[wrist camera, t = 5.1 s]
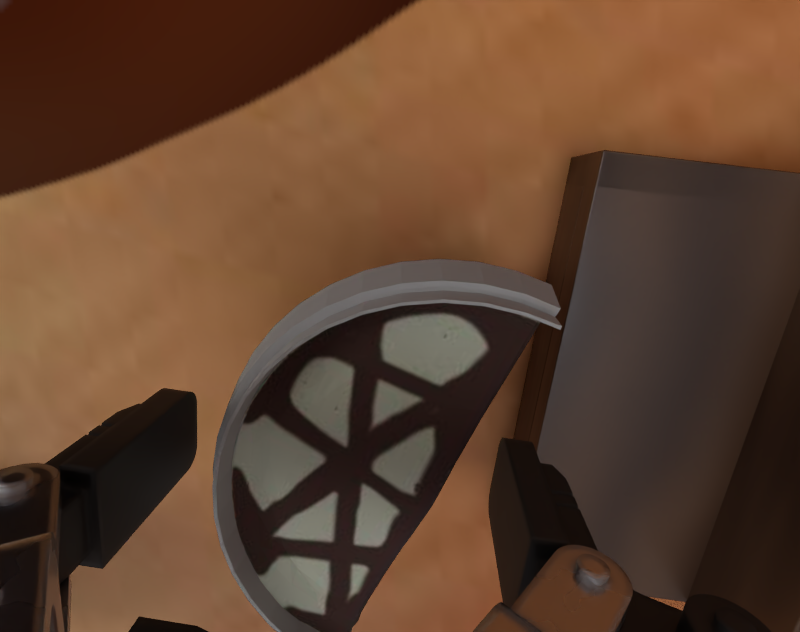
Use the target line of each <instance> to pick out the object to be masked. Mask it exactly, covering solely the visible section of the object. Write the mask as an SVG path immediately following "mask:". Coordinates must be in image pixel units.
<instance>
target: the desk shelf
mask: <svg viewBox="0 0 800 632" xmlns="http://www.w3.org/2000/svg"><path fill="white" fill-rule="evenodd" d="M546 283H548V284H551V285H552V287H553V290H554V292H555V295H556V297H557V300H558V303H559V305H560V308H561V309H560V310H559V312H558V314H557V315H556V316H555V317H556V319H557V320H558V321H559V323H560V324H561V325H562V328H561V330H559V329H557V328H554V327H552V326H549V325H547V324H544V323H542V322H540V324H539V326H538V327H537V329H536V332H535V337H534V342H533V347H532V352H531V357H530V361H529V366H528V371H527V376H526V381H525V386H524V391H523V395H522V400H521V405H520V410H519V415H518V420H517V424H516V429H515V434H514V439H516V440H523V441H530V442H532V443H533V445H534V447H535V450H536V452H537V455H538V458H539V460H540V463H544V464H551V465H553V466H554V467H555V468H556V469H557V470H558V471H559V472H560V473H561V474H562V475H563V476H564V477H565V478H566V479H567V482H568V484H569V486H570V488H571V491H572V493H573V497H575V500H576V502H577V504H578V509H580V511H581V513H582V516H583V518H584V520H585V522H586V525H587V527H588V529H589V531H590V534H591V536H592V538H593V540H594V543H595V545H596V547H597V549H598V551H599V552H601V553H603V554H605V555H606V556H608V557H609V558H611V559H612V560H613V561H615V562H616V563H617V564H618V565H619V566H620V567H621V568H622V569H623V570H624V571H625V573H626V574H627V576H628V577H629V579H630V581H631V584H632V588H633V590H635V591H637V592H638V593H640V594H642V595H644V596H647V597H654V598H661V599H668V600H675V601H682V602H686V601H687V599H688V598H689V597H691V596H693V595H697V594H709V595H714V596H718V597H721V598H724V599H726V600H729V601H731V602H733V603H735V604H737V605H739V606H740V607H742V608H744V609H745V610H747V611H748V612H750V613H751V614H753V615H754V616H755V617H756V618H758V619H759V620H760V621H761V622H762V623H763V624H765V625H766V626H767V627H768V629H769V630H770V631H771V632H800V173H795V172H786V171H777V170H769V169H760V168H752V167H743V166H735V165H726V164H718V163H709V162H701V161H692V160H684V159H675V158H667V157H658V156H650V155H641V154H633V153H624V152H616V151H607V150H603V151H598V152H594V153H590V154H585V155H580V156H575V157H572V158H571V163H570V168H569V173H568V177H567V182H566V187H565V192H564V197H563V202H562V206H561V211H560V216H559V221H558V226H557V231H556V236H555V240H554V245H553V250H552V255H551V260H550V265H549V269H548V274H547V279H546Z"/></svg>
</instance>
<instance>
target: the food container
mask: <svg viewBox="0 0 800 632" xmlns="http://www.w3.org/2000/svg"><path fill="white" fill-rule="evenodd" d="M560 309H561V308H560V305H559V303H558V300H557V297H556V295H555V292H554V290H553V287H552V285H551V284H548V283H546V282H543V281H541V280H538V279H536V278H534V277H531V276H529V275H526V274H524V273H521V272H519V271H515V270H511V269H507V268H503V267H499V266H494V265H490V264H486V263H482V262H474V261H461V260H449V259H431V260H418V261H405V262H398V263H394V264H390V265H386V266H381V267H377V268H373V269H369V270H364V271H362V272H360V273H357V274H355V275H352V276H350V277H347V278H345V279H343V280H340V281H338V282H335V283H333V284H330V285H329V286H327V287H325V288H324V289H322V290H321V291H319V292H317V293H316V294H314V295H313V296H311V297H309V298H308V299H306V300H305V301H303V302H301V303H300V304H298V305H297V306H296V307H295V308H294V309H293V310H292V311H291V312H289V313H288V314H287V315H286V316H285V317H284V318H283V319H282V320H280V321H279V322H278V323H277V324H276V325H275V326H274V327H273V328H272V329H271V330H270V332H269V333H268V334H267V336H266V337H265V338H264V339H263V341H262V342H261V343H260V344H259V346H258V347H257V348H256V349H255V351H254V352H253V354H252V355H251V357H250V359H249V361H248V363H247V365H246V366H245V368H244V370H243V372H242V374H241V376H240V378H239V379H238V382H237V384H236V387H235V389H234V392H233V394H232V396H231V399H230V401H229V404H228V406H227V409H226V412H225V415H224V418H223V421H222V424H221V427H220V430H219V433H218V436H217V442H216V450H215V457H214V464H213V507H214V519H215V524H216V528H217V533H218V537H219V541H220V546H221V548H222V551H223V553H224V556H225V558H226V561H227V563H228V565H229V568H230V570H231V573H232V575H233V576H234V578H235V580H236V581H237V583H238V585H239V586H240V588H241V590H242V591H243V593H244V594H245V596H246V598H247V599H248V601H249V602H250V603H251V604H252V605H253V607H254V608H255V609H256V610H257V611H258V613H259V614H260V615H261V616H262V617H263V618H264V620H265V621H266V622H267V623H268V624H269V625H270V626H271V627H272V628H273V629H275V630H276V631H277V632H351V631H352V627H353V626H354V625H355V624H356V623H357V621H358V619H359V617H360V614H361V612H362V610H363V608H364V606H365V605H366V603H367V601H368V599H369V598H370V596H371V595H372V593H373V591H374V590H375V588H376V587H377V585H378V584H379V582H380V580H381V579H382V577H383V576H384V574H385V573H386V571H387V570H388V568H389V567H390V565H391V564H392V562H393V561H394V559H395V558H396V556H397V555H398V553H399V552H400V550H401V549H402V547H403V546H404V545H405V543H406V542H407V541H408V539H409V538H410V537H411V535H412V534H413V533H414V531H415V530H416V528H417V527H418V525H419V524H420V522H421V521H422V520H423V518H424V517H425V515H426V514H427V513H428V511H429V510H430V508H431V507H432V505H433V503H434V501H435V500H436V498H437V496H438V494H439V492H440V491H441V489H442V487H443V485H444V483H445V482H446V480H447V478H448V476H449V474H450V473H451V471H452V469H453V467H454V465H455V463H456V461H457V460H458V458H459V456H460V455H461V453H462V451H463V449H464V448H465V446H466V444H467V442H468V441H469V439H470V437H471V435H472V434H473V432H474V430H475V429H476V427H477V425H478V423H479V422H480V420H481V418H482V417H483V415H484V413H485V412H486V410H487V408H488V407H489V405H490V404H491V402H492V400H493V399H494V397H495V395H496V394H497V392H498V391H499V389H500V387H501V386H502V384H503V382H504V381H505V379H506V378H507V376H508V374H509V373H510V371H511V370H512V368H513V366H514V365H515V363H516V361H517V360H518V358H519V357H520V355H521V353H522V352H523V350H524V348H525V347H526V345H527V343H528V342H529V340H530V339H531V337H532V335H533V334H534V332H535V330H536V329H537V327H538V326H539V324H540V322H542V323H544V324H547V325H549V326H552V327H554V328H557V329H559V330H561V328H562V325H561V324H560V323H559V321H558V320H557V319H556V317H555V316H556V315H557V314H558V312H559V310H560Z"/></svg>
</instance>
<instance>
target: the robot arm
mask: <svg viewBox="0 0 800 632" xmlns="http://www.w3.org/2000/svg"><path fill="white" fill-rule="evenodd" d="M196 450H197V400H196V396H195V394H194V393H193V392H188V391H181V390H174V389H167V388H163V389H161V390H159V391H158V392H157V393H155V394H154V395H153V396H151V397H150V398H149V399H147V400H146V401H145V402H143V403H142V404H136V405H134V406H131V407H129V408H126V409H124V410H121V411H119V412H117V413H115V414H114V415H113V416H111V417H110V418H108V419H107V420H106V421H104V422H103V423H102V425H101V426H100V425H99V426H97V427H96V428H94V429H93V430H92V431H90V432H89V434H88V435H85V436H83V437H82V438H80V439H79V440H78V441H76V442H75V443H73V444H72V445H71V446H69V447H68V448H66V449H65V450H64V451H62V452H61V453H59V454H58V455H57V456H55V457H54V458H52V459H51V460H50V461H48V462H47V463H45V464H39V463H32V464H22V465H17V466H12V467H8V468H5V469H2V470H0V632H70V613H71V580H70V574H71V573H72V572H73V571H74V570H75V569H76V567H77V566H78V565H82V566H88V567H95V568H101V569H103V568H104V567H105V566H106V564H107V563H108V562H109V561H110V560H111V559H112V557H113V556H114V555H115V554H116V553H117V552H118V551H119V549H120V548H121V547H122V546H123V545H124V544H125V542H126V541H127V540H128V539H129V538H130V537H131V536H132V534H133V533H134V532H135V531H136V530H137V529H138V527H139V526H140V525H141V524H142V523H143V522H144V520H145V519H146V518H147V517H148V516H149V515H150V514H151V512H152V511H153V510H154V509H155V508H156V507H157V505H158V504H159V503H160V502H161V501H162V500H163V499H164V497H165V496H166V495H167V494H168V493H169V492H170V490H171V489H172V488H173V487H174V486H175V485H176V484H177V482H178V481H179V480H180V479H181V478H182V477H183V475H184V474H185V473H186V472H187V471H188V470H189V468H190V467H191V465H192V463H193V460H194V458H195V454H196ZM489 518H490V524H491V531H492V537H493V543H494V549H495V555H496V562H497V568H498V574H499V580H500V587H501V593H502V599H503V603H502V602H500V603H498V604H497V605H495V606H494V607H493V608H492V610H491V611H490V612H489V613H488V614H487V615H486V617H485V618H484V619H483V620H482V621H481V622H480V624H479V625H478V626H477V627H476V628H475V630H474V631H473V632H771V631H770V630H769V629H768V627H767V626H766V625H765V624H763V623H762V622H761V621H760V620H759V619H758V618H756V617H755V616H754V615H753V614H751V613H750V612H748V611H747V610H745V609H744V608H742V607H740V606H739V605H737V604H735V603H733V602H731V601H729V600H726V599H724V598H721V597H718V596H714V595H709V594H697V595H693V596H691V597H689V598H688V599H687V601H686V603H685V606H684V609H683V611H681V610H679V609H676V608H674V607H671V606H669V605H666V604H664V603H661V602H659V601H656V600H654V599H651V598H649V597H647V596H644V595H642V594H640V593H638V592H637V591H635V590H633V588H632V584H631V581H630V579H629V577H628V576H627V574H626V573H625V571H624V570H623V569H622V568H621V567H620V566H619V565H618V564H617V563H616V562H615V561H613V560H612V559H611V558H609V557H608V556H606V555H605V554H603V553H601V552H599V551H598V549H597V547H596V545H595V543H594V540H593V538H592V536H591V534H590V531H589V529H588V527H587V525H586V522H585V520H584V518H583V516H582V513H581V511H580V509H578V504H577V502H576V500H575V497H573V493H572V491H571V488H570V486H569V484H568V482H567V479H566V478H565V477H564V476H563V475H562V474H561V473H560V472H559V471H558V470H557V469H556V468H555V467H554V466H553V465H551V464H544V463H540V460H539V458H538V455H537V452H536V450H535V447H534V445H533V443H532V442H530V441H523V440H516V439H510V438H502V439H501V441H500V444H499V448H498V453H497V458H496V463H495V468H494V473H493V478H492V483H491V488H490V494H489ZM129 632H208V631H206V630H204V629H202V628H200V627H198V626H194V625H187V624H181V623H175V622H169V621H163V620H157V619H151V618H145V617H138V619H137V620H136V622H135V623H134V624H133V626H132V627H131V629H130V630H129Z"/></svg>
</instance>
